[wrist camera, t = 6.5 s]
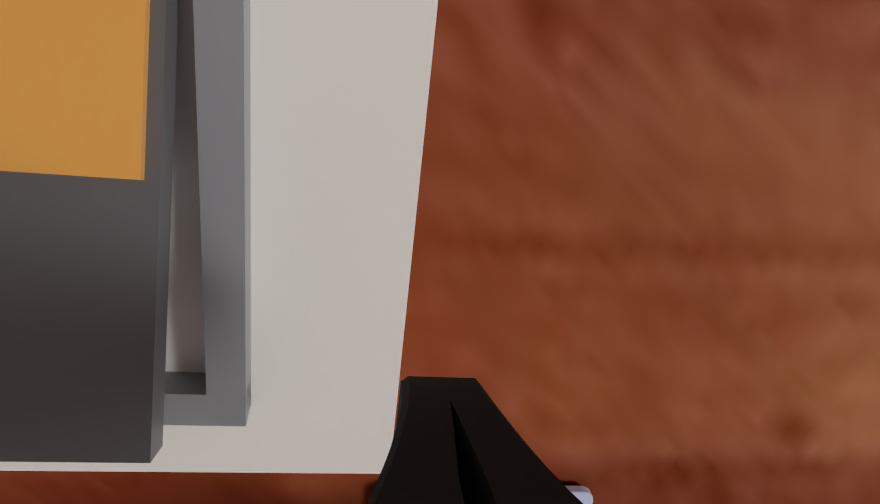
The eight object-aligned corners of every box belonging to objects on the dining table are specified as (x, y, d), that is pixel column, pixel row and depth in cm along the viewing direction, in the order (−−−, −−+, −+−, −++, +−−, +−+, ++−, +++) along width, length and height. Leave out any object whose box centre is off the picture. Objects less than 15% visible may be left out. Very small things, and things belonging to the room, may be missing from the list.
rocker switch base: (385, 412, 24) (391, 508, 20) (-130, 401, 22) (-240, 507, 18) (444, -203, 17) (472, -245, 13) (-328, -320, 14) (-592, -416, 10)
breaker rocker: (162, 445, 15) (145, 468, 14) (-87, 442, 15) (-128, 466, 13) (179, -20, 15) (163, -40, 13) (-83, -48, 14) (-126, -72, 13)
